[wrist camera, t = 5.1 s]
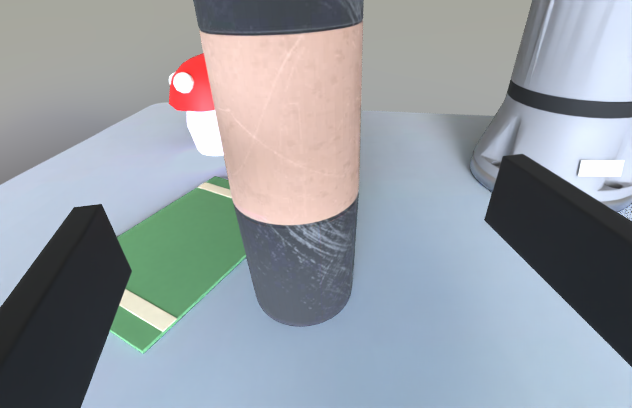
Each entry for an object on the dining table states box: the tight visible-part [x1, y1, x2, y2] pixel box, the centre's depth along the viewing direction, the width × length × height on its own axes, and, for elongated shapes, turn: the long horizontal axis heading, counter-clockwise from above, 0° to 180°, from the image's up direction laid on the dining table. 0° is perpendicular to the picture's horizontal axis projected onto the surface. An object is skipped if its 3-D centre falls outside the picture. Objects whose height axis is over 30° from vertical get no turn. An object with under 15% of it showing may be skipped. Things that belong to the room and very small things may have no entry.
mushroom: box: [169, 53, 223, 156], centre depth 45 cm, size 11×11×12 cm
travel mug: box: [193, 0, 363, 326], centre depth 20 cm, size 8×8×20 cm
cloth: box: [110, 176, 246, 354], centre depth 31 cm, size 19×12×1 cm, turn 150°
